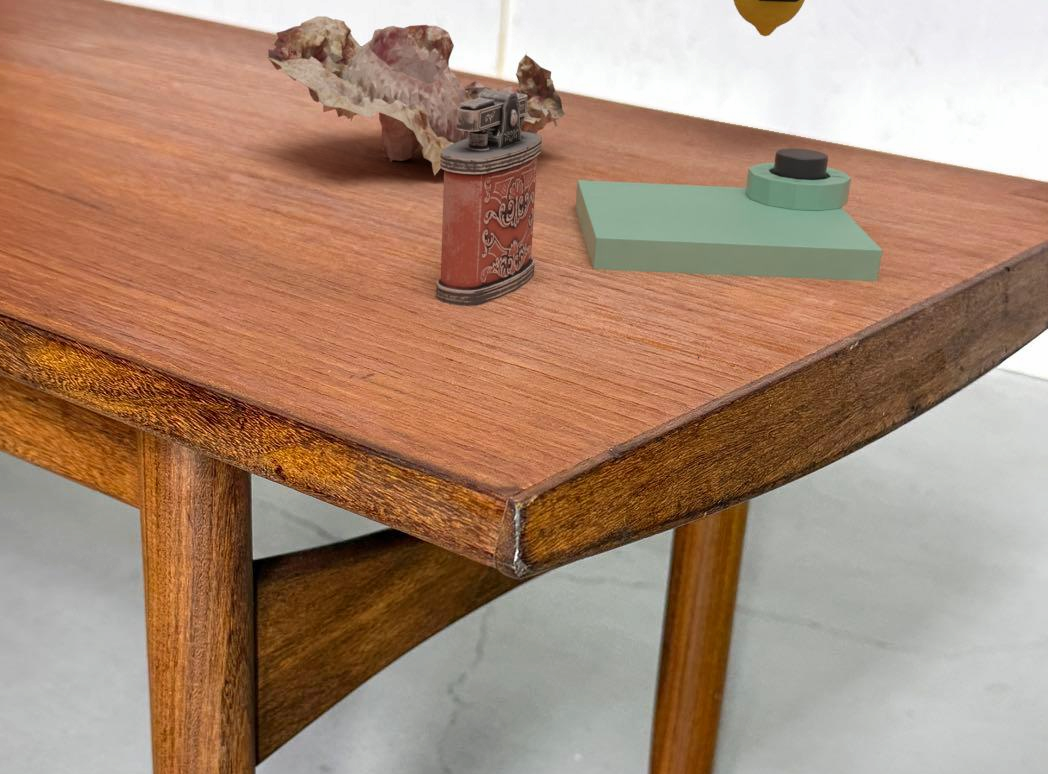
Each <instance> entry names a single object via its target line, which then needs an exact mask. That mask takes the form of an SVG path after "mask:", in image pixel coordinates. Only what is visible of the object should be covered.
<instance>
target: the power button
mask: <svg viewBox="0 0 1048 774" xmlns="http://www.w3.org/2000/svg"><path fill="white" fill-rule="evenodd" d="M774 162H775V163H774V171H773V174H774V175H777V176H780V177H785V178H792V179H799V180H822V179H825V177H826V170H827V167H828V162H829V155H828V154H826V153H824V152H822V151H818V150H812V149H806V148H794V147H793V148H782V149H778V150H776V152H775V157H774Z"/></svg>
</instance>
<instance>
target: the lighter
mask: <svg viewBox="0 0 1048 774" xmlns="http://www.w3.org/2000/svg"><path fill="white" fill-rule="evenodd" d="M526 110H527V95H525V94H519V93H511V92H504V91H497V90H489V89H487V90H483V92H482V93H481V95H480V98H477V99H474V100H470V101H467V102H463V103H461V107H458V108H457V129H458V130H463V131H470V132H469V138H468V139H464V140H461V141H459V142H457V143H454V144H452V145H450V146H448V147H446V148H445V149H443V150H442V151H441V158H440V169H442V170H443V191H442V221H441V223H442V225H441V252H440V254H441V255H440V256H441V257H440V277H439V279H438V280H436V293H435V294H436V295H435V299H437V300H438V301H439V302H441V303H443V304H446V305H450V306H457V307H476V306H483V305H485V304H487V303H490V302H494V301H497V300H500V299H502V298H505V297H506V296H508V295H511V294H513V293H515V292H517V291H518V290H520V289H521V288H522V287H524V286H525V285H527V284H528V283H529V282H530V281H531V280H532V279H533V278H534V276H535V262H536V261H535V259H534V258H533V257H532V251H533V250H532V249H533V236H534V235H533V233H534V217H535V214H534V213H535V202H536V201H535V200H536V184H537V167H538V166H537V165H538V156H539V155H540V154H542V143H543V136H542V135H540V134H535V133H529V132H522V131H521V128H522V125H523V123H524V116H525V115H526Z"/></svg>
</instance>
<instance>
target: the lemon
mask: <svg viewBox="0 0 1048 774" xmlns="http://www.w3.org/2000/svg"><path fill="white" fill-rule="evenodd" d="M805 1H806V0H799V1H797V2H775V1H759V0H733V3H734V7H735V8H736V11H737V12H738V14H739V15H740V16H741V18H743V19H744V21H746V22H747V23H749V24H751V25H752V26H753V27H755V29H756V31H757V32H758V33H759V35H760V36H762V37H768V36H771V34H772V33H774V32H775V30H776V29H777V28H779V27H780V26H782V25H785V24H787V23H788V22H790V21H791V20H792V19H793V18H794V17H795V16H796V15H798V13H799V11H801V9H802V7H803V5H804V3H805Z"/></svg>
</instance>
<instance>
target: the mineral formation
mask: <svg viewBox="0 0 1048 774" xmlns="http://www.w3.org/2000/svg"><path fill="white" fill-rule="evenodd" d="M351 32H352V30H351V28H350V27H348V25H347V24H346V22H345V21H344V20H340V19H336V18H334V19H333V18H331V17H328V16H326V15H324V16H323V15H322V16H321V15H320V16H319V15H318V16H315V17H313V18H310V19H308V20H306V21H303V22H301V23H300V25H295V26H292V27H289V28H288V29H285V30H282V31H278V32H275V34H276V35H277V38H276V40H275V42H274V43H273V45H274V46H275V47H274V48H273V49H270V48H269V49H268V50H267V51H268V53H267V54H268V55H267V57H266V58H267V59H268V60H269V62H270V63H271V64H272V65H273V67H274V68H275V69H276V70H277V71H278V70H281V69H282V70H283V72H284V73H285V75H287V76H288V77H289V78H290V79H292V80H293V81H297V82H299V83H301V84H302V85H304V86H305V87H307V89H308V93H309V96H310V97H311V99H312V100H313V101H314V102H316V103H321V104H322V109H323V113H326V112H330V111H334V110H336V115H337V118H341V117H346V118H347V119H348V120H350V122H352V120H353V119H354V116H357V115H359V116H361V117H366V118H372V117H374V116H376V114H377V112H378V120H379V123H380V125H381V145H382V151H381V154H380V156H382V157H385V158H387V159H388V160H389V161H390V162H393V161H400V162H403V161H407V160H409V159H412V158H413V157H414V154H415V152H416V151H417V150H418V147H419V146H421V153H422V157H423V158H424V159H426V160H428V161H429V162H430V163H431V167H432V172H433V175H434V176H436V174H438V173H439V171H440V170H441V168H440V158H441V151H442V150H443V149H445V148H446V147H448V146H450V145H452V144H454V143H457V142H459V141H461V140H464V139H468V138H469V132H470V131H463V130H458V129H457V108H458V107H461V103H463V102H467V101H470V100H474V99H477V98H480V95H481V93H482V92H483V90H487V89H489V90H497V91H504V92H511V93H519V94H525V95H527V110H526V115H525V116H524V123H523V125H522V128H521V131H522V132H529V133H535V134H537V133H538V132H539V131H541V130H544V128H545V127H546V125H547V124H549V123H553V125H554V127H558V123H557V120H559V119H562V117H563V116H565V115H566V114H565V112H564V110H563V105H562V99H561V97H560V95H559V94H558V93H557V91H556V88H555V85H554V80H552V71H551V70H548V69H546V68H544V67H542V66H540V65H539V63H537V62H536V61H535V60H534V59H533V58H531V57H530V56H528V55H527V54H528V52H526V53H525V55H524V56H523V57H522V58H521V60H519V62H518V65H517V69H516V72H515V76H516V78H517V82H518V88H519V89H518V88H517V87H514V86H510V87H509V86H507V87H503V88H491V87H487V86H485V85H483V84H481V83H479V82H478V81H475V80H474V81H473V82H471V83H469V84H468V85H466V86H464V85H463V84H462V81H461V80H460V79H459V78H458V77H457V75H455V74H454V73H453V72H452V70H451V67H450V66H449V63H450V58H451V55H452V52H453V49H454V47H455V44H454V42H453V40H452V38H451V35H450V33H449V31H447V30H445V29H444V28H442V27H440V26H438V25H428V24H418V25H408V26H405V27H400V26H395V25H391V26H386V27H384V28H378V29H375V30H374V32H373V34H372V38H371V39H370V40H369V41H367V42H366V43H365V44H363V45H362V46H361V45H360V43H359V42H358V41H357V40H356V39H355V38H354V36H353V35H352V33H351ZM350 126H352V125H351V123H350Z"/></svg>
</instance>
